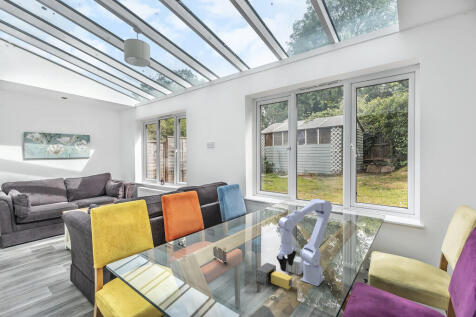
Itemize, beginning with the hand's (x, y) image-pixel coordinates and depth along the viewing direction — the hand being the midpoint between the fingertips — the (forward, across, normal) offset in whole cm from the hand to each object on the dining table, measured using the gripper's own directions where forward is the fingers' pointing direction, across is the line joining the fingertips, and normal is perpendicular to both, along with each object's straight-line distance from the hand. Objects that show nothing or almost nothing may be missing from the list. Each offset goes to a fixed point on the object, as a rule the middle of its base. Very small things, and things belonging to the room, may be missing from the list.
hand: (287, 267), depth 114 cm
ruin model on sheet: (+10, -1, -49) cm, 50 cm away
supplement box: (+6, -18, -13) cm, 23 cm away
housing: (+10, 0, -12) cm, 16 cm away
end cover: (+9, 0, -3) cm, 10 cm away
